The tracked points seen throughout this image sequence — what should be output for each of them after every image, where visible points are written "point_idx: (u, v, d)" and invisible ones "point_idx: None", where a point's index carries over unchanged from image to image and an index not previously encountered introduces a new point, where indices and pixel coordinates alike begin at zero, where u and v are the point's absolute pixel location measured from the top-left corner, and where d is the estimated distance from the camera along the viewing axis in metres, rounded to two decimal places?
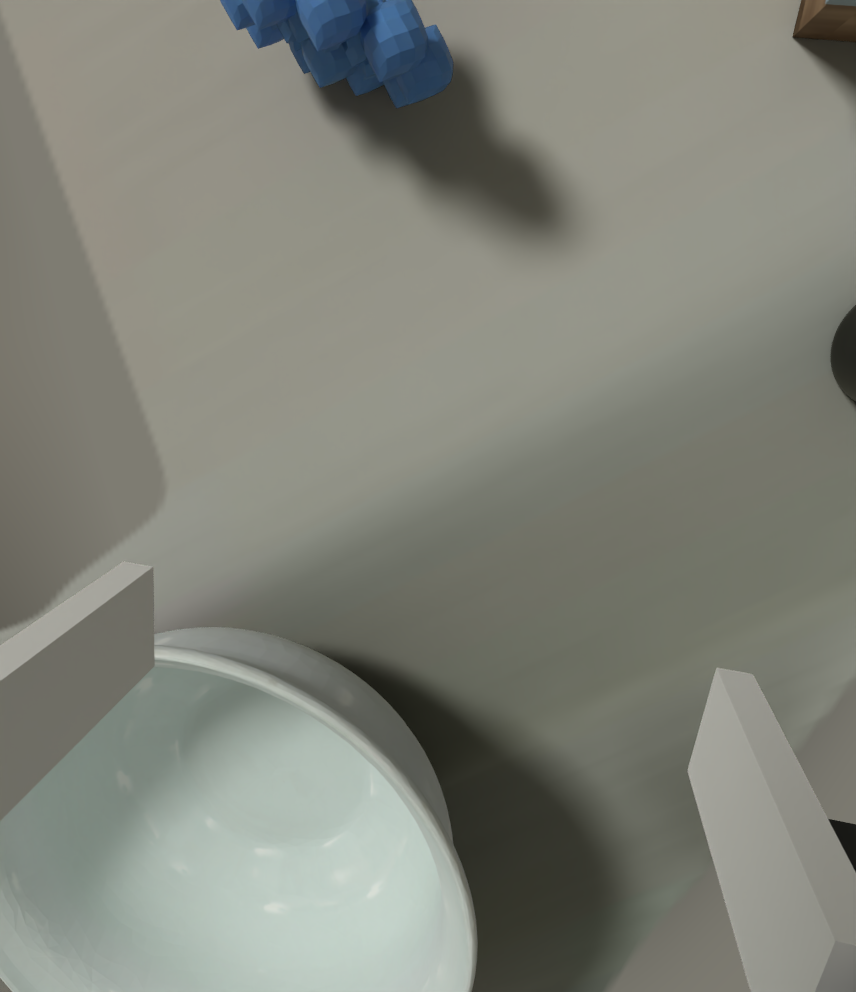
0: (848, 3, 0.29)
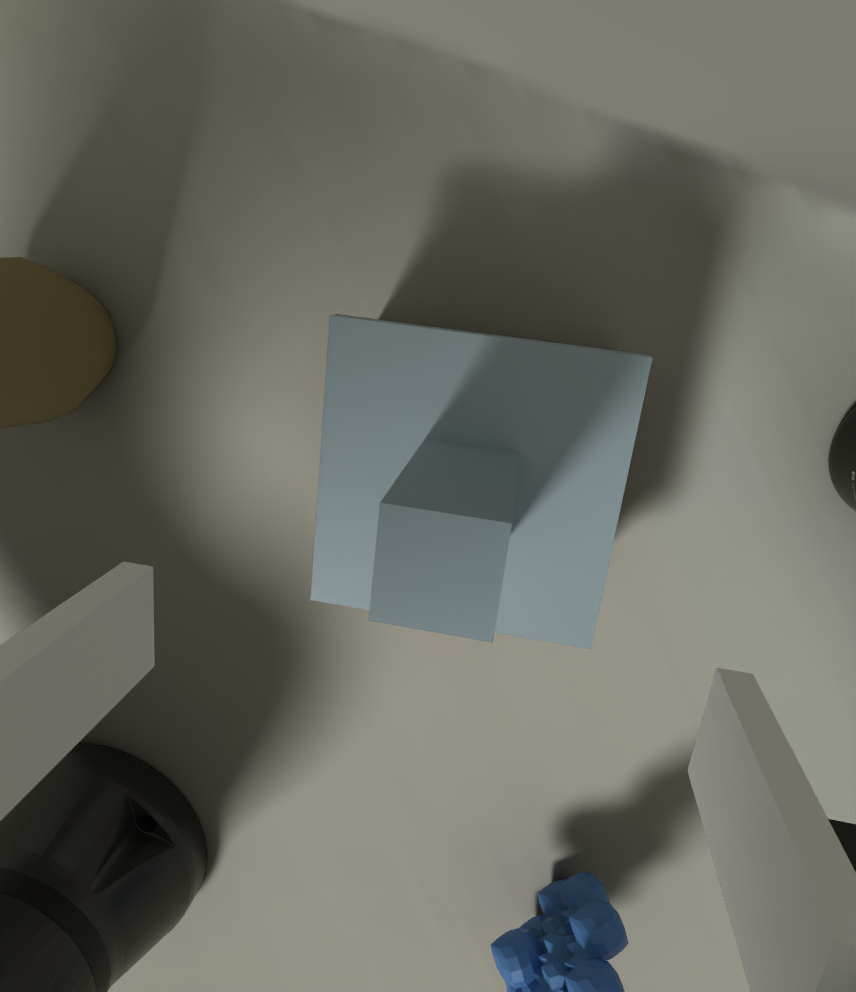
0: None
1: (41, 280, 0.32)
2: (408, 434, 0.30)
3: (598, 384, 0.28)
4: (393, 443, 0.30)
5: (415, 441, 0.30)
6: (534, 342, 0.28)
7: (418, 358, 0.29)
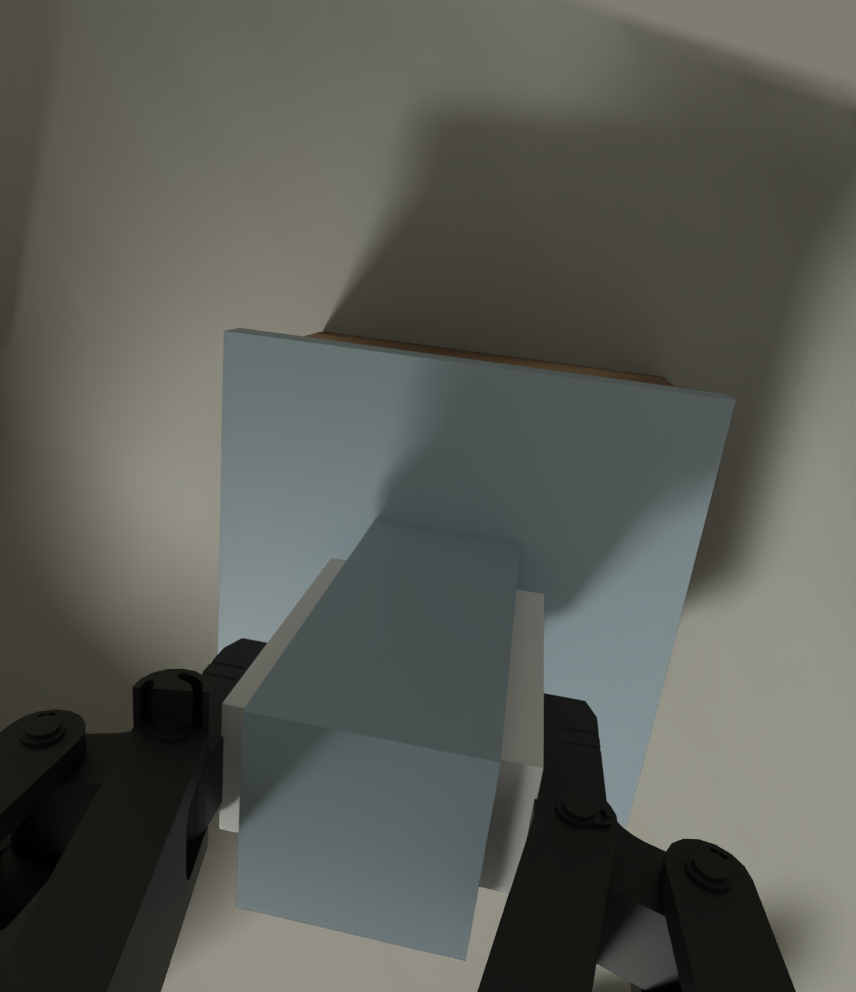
0: None
1: None
2: (350, 512, 0.19)
3: (646, 442, 0.17)
4: (327, 525, 0.20)
5: (360, 522, 0.19)
6: (544, 375, 0.17)
7: (362, 397, 0.18)
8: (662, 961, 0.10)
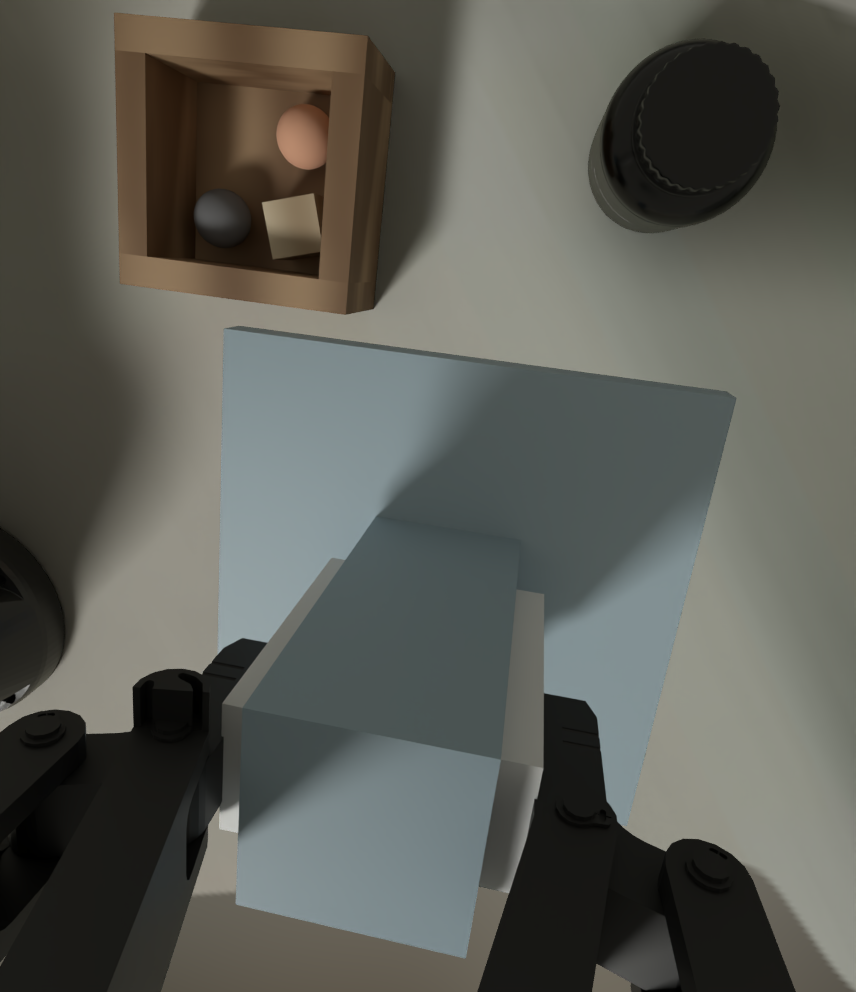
0: None
1: None
2: (350, 510, 0.19)
3: (646, 439, 0.17)
4: (327, 523, 0.20)
5: (360, 520, 0.19)
6: (544, 372, 0.17)
7: (362, 395, 0.18)
8: (662, 961, 0.10)
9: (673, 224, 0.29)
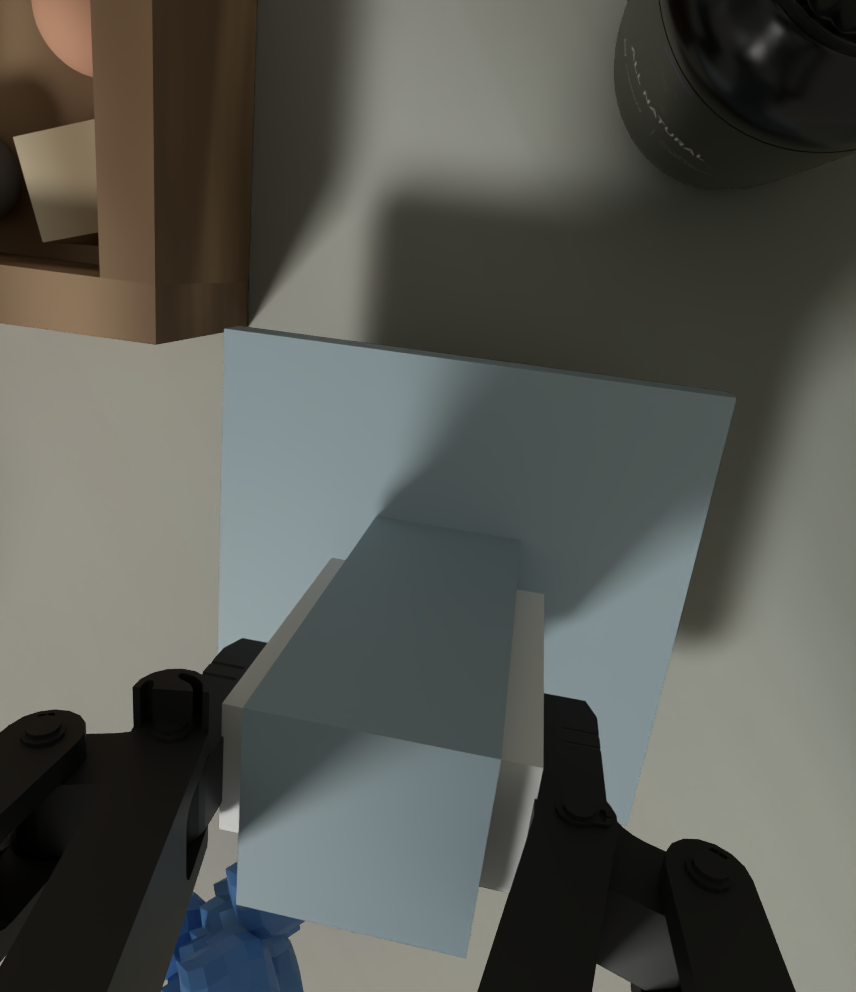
0: None
1: None
2: (350, 510, 0.19)
3: (646, 439, 0.17)
4: (328, 523, 0.20)
5: (360, 520, 0.19)
6: (544, 372, 0.17)
7: (362, 395, 0.18)
8: (662, 961, 0.10)
9: (827, 145, 0.13)
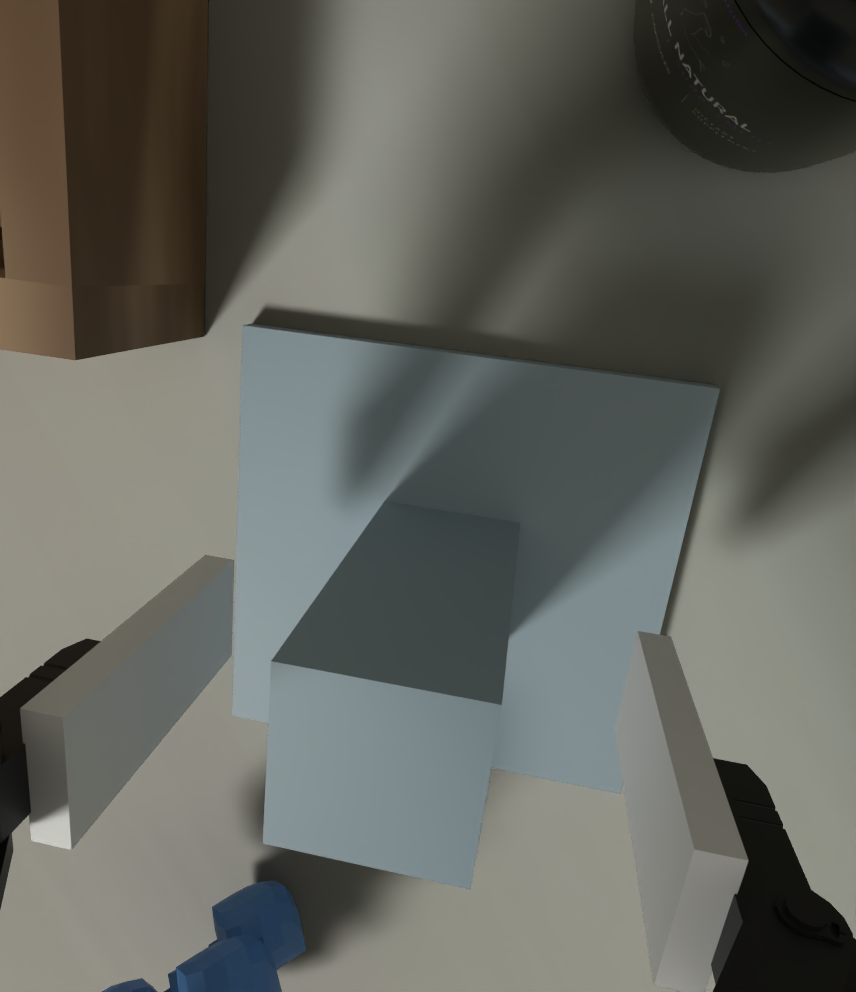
0: None
1: None
2: (360, 495, 0.21)
3: (637, 428, 0.19)
4: (339, 508, 0.21)
5: (369, 505, 0.21)
6: (541, 365, 0.19)
7: (371, 387, 0.20)
8: None
9: None
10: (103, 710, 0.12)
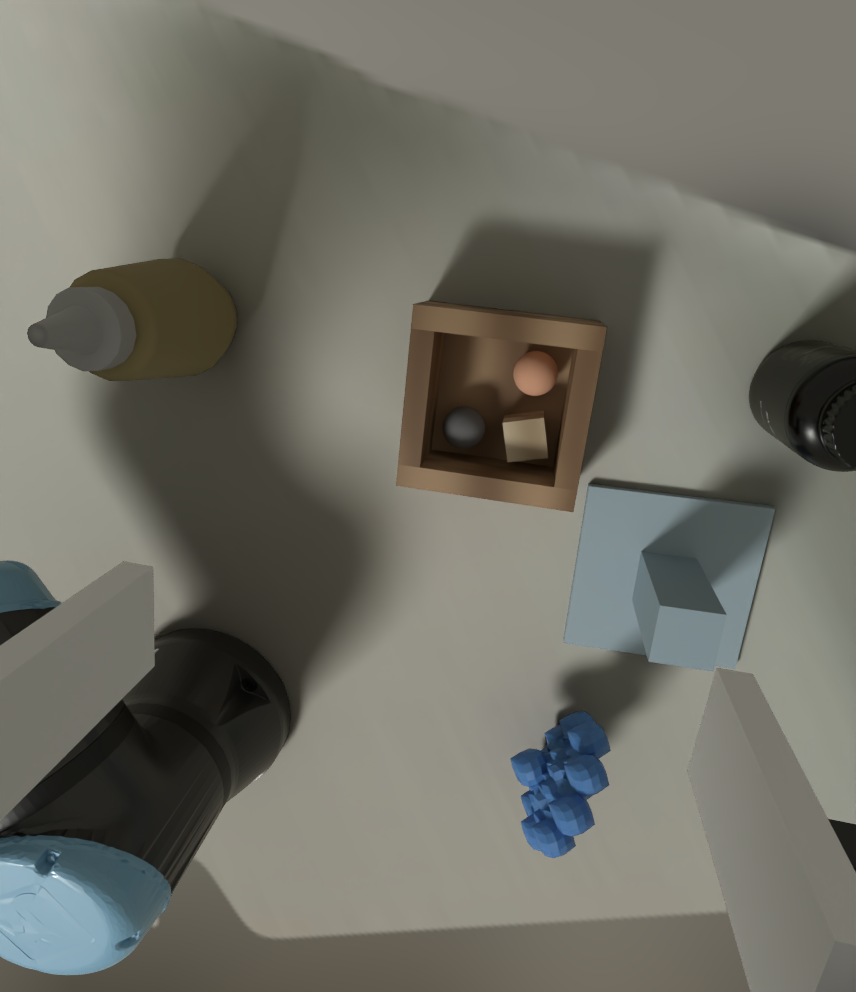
0: None
1: (198, 274, 0.47)
2: (631, 549, 0.52)
3: (744, 523, 0.50)
4: (621, 554, 0.52)
5: (634, 553, 0.52)
6: (707, 500, 0.50)
7: (639, 508, 0.51)
8: None
9: None
10: None
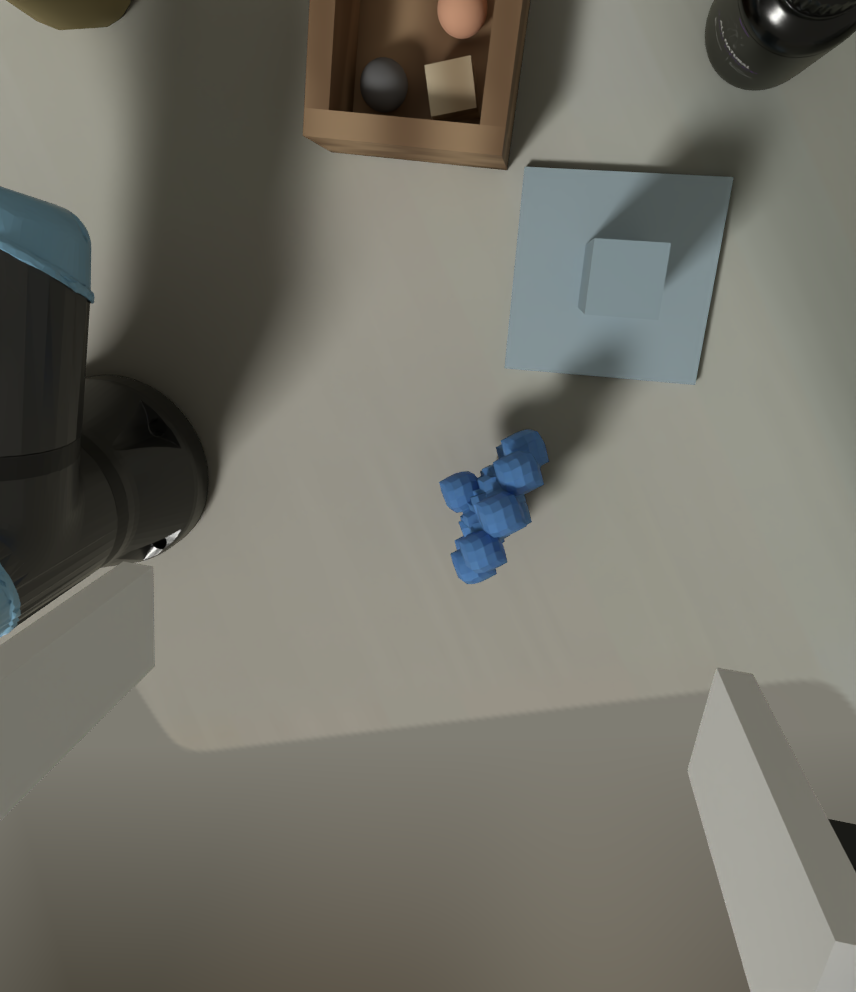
0: None
1: None
2: (574, 243, 0.46)
3: (699, 198, 0.44)
4: (564, 250, 0.46)
5: (578, 247, 0.46)
6: (657, 173, 0.44)
7: (582, 190, 0.45)
8: None
9: (799, 53, 0.35)
10: None
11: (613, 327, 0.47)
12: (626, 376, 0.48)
